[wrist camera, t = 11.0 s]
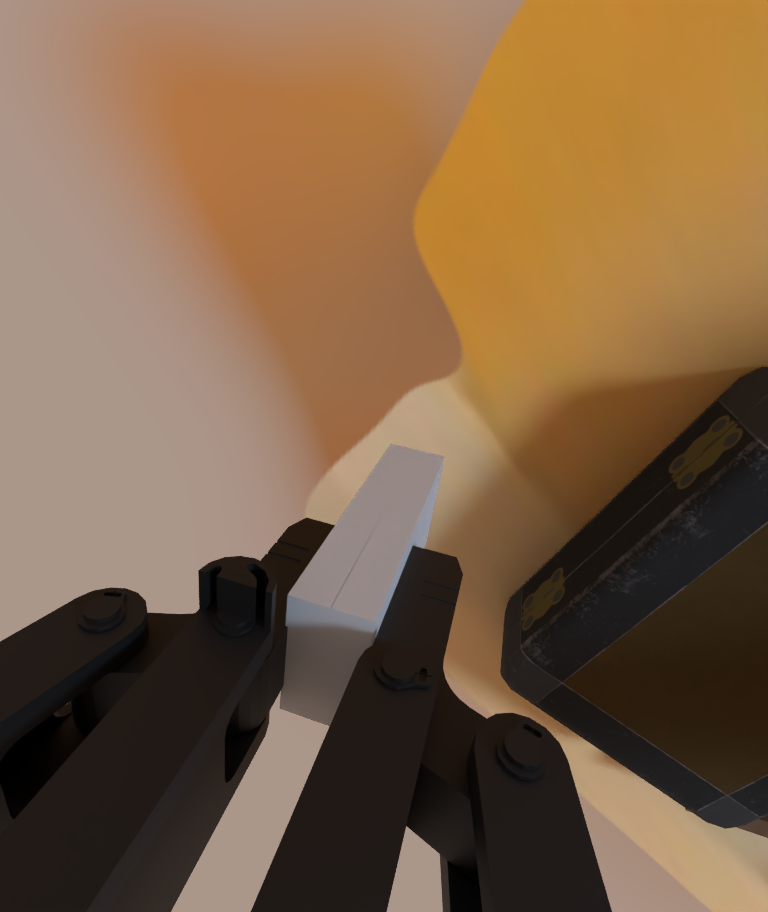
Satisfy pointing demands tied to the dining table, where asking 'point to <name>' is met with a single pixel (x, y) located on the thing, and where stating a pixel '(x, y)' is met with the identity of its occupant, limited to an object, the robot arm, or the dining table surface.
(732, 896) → the dining table surface
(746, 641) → the cash box
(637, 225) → the dining table surface
